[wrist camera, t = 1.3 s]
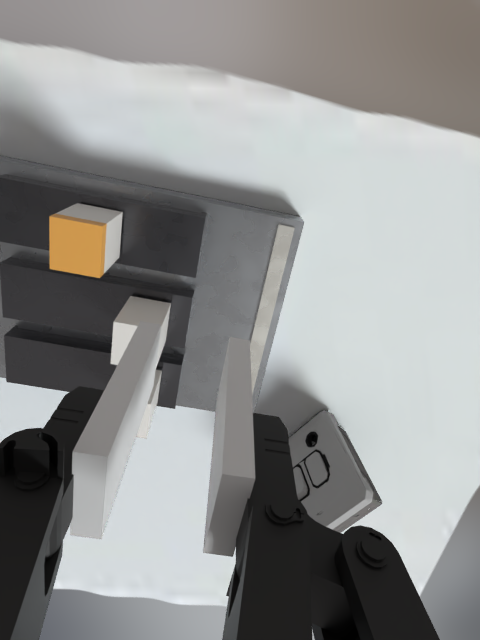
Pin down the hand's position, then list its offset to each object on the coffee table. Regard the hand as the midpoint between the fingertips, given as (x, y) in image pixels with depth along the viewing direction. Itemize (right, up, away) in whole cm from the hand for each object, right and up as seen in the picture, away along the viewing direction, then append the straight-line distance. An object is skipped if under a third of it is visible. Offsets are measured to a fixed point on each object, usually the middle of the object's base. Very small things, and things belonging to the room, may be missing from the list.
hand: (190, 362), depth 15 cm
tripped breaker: (-8, +8, +13) cm, 17 cm away
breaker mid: (-5, +2, +16) cm, 16 cm away
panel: (-9, +4, +19) cm, 21 cm away
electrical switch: (+9, -11, +26) cm, 30 cm away
